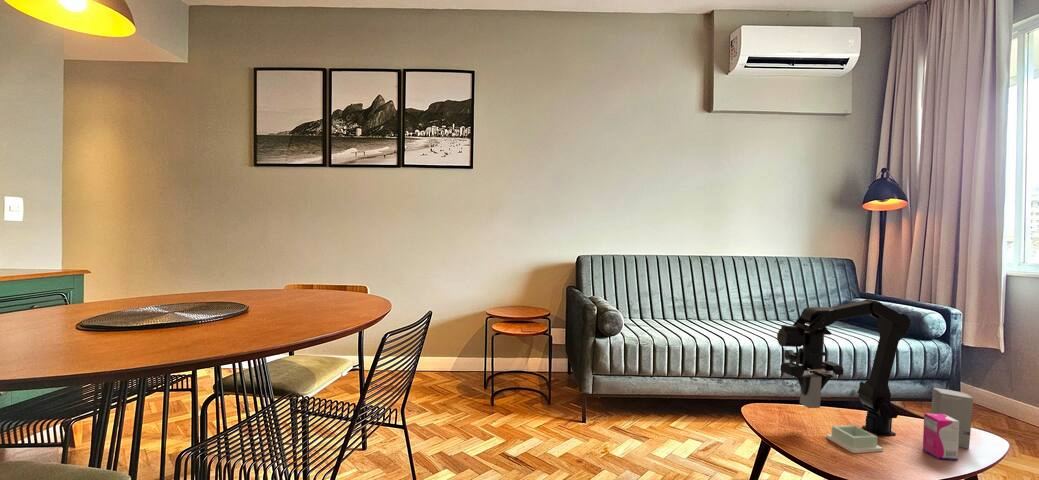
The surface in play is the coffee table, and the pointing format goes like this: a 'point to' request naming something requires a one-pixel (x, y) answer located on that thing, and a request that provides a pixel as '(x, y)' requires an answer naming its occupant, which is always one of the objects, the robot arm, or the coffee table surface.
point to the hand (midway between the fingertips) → (810, 394)
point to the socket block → (854, 439)
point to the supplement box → (941, 436)
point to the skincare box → (955, 411)
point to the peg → (812, 392)
